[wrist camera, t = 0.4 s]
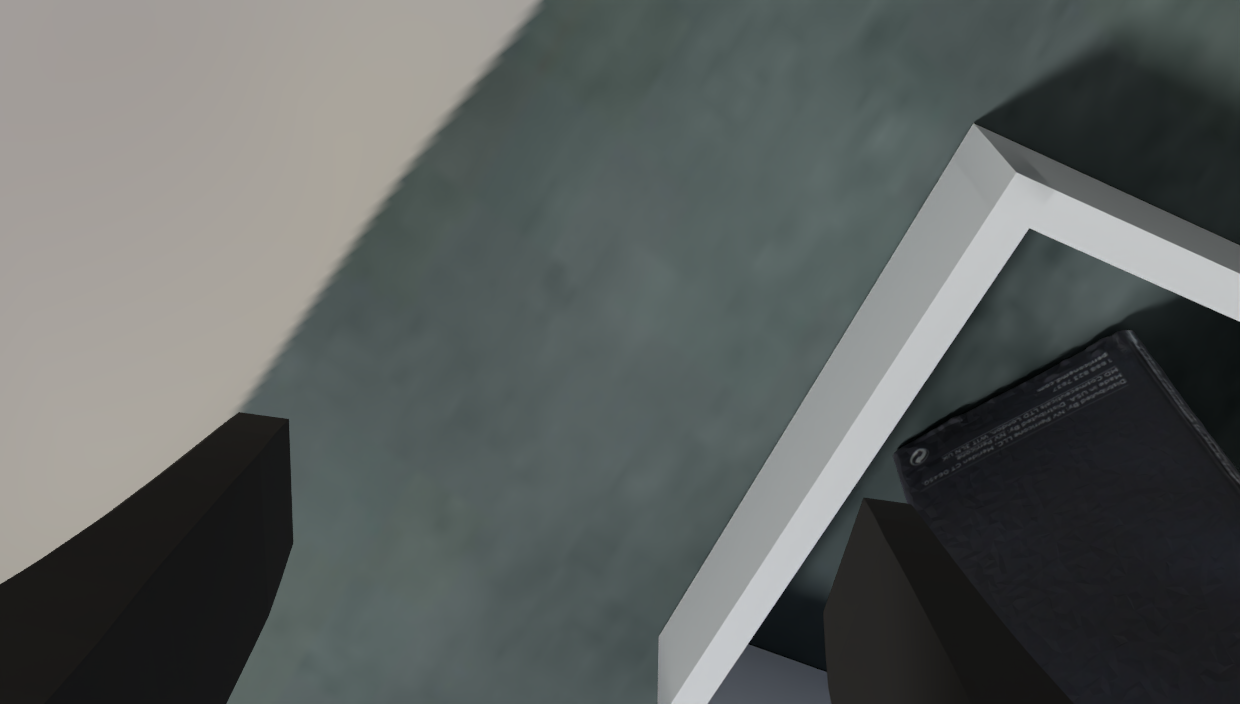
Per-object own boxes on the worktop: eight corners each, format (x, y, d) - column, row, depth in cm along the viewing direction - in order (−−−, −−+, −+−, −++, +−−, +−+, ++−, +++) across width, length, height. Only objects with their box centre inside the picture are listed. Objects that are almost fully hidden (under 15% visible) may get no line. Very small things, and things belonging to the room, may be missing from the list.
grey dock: (1145, 807, 30) (1190, 904, 28) (658, 636, 28) (657, 724, 25) (1578, 400, 23) (1693, 478, 21) (973, 123, 21) (1016, 172, 18)
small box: (869, 453, 25) (982, 844, 16) (1126, 313, 23) (1430, 670, 14) (1063, 709, 29) (1245, 1141, 20) (1299, 609, 27) (1626, 1043, 18)
